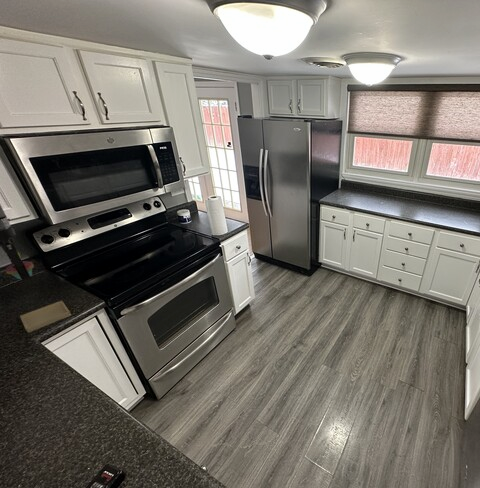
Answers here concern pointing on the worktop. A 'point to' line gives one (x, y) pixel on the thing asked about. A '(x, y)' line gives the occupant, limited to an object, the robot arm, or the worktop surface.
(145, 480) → the worktop surface
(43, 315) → the tray
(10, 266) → the cupcake
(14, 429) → the worktop surface
